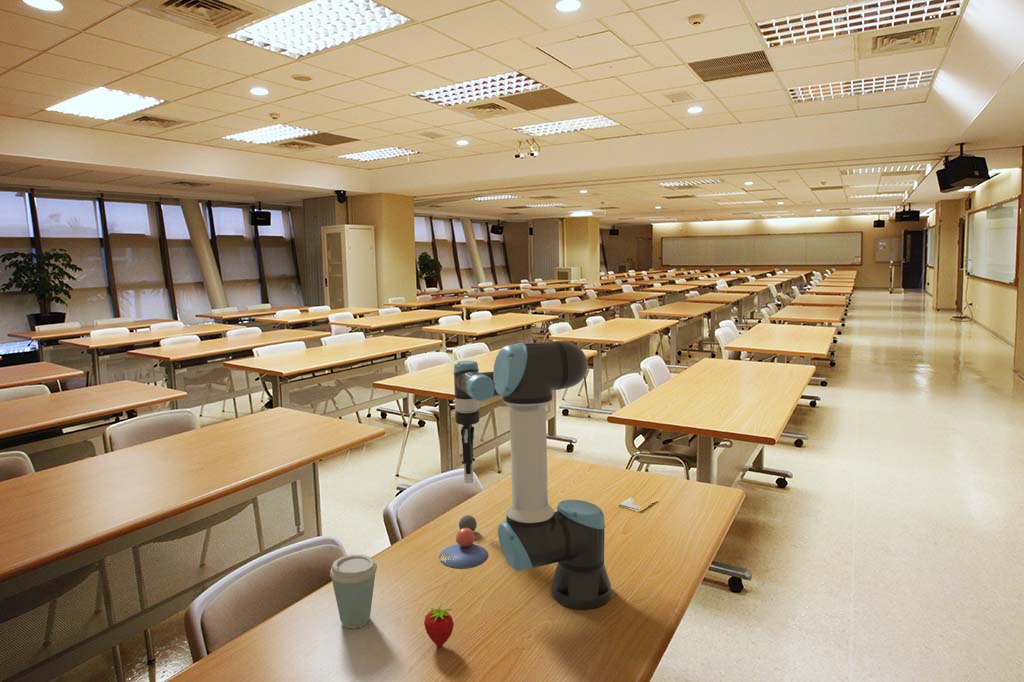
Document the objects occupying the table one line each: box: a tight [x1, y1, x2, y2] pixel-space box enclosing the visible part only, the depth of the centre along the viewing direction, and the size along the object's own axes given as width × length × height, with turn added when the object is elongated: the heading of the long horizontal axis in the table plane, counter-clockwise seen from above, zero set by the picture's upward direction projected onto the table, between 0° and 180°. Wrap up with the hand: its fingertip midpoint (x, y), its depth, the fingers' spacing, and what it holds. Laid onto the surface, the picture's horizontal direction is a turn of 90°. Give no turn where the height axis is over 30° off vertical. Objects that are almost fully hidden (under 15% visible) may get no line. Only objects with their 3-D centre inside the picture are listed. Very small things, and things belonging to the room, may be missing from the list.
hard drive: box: [618, 497, 641, 510], centre depth 201 cm, size 2×8×12 cm
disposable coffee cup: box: [329, 554, 378, 629], centre depth 136 cm, size 11×11×15 cm
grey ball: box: [458, 515, 477, 532], centre depth 181 cm, size 6×6×6 cm
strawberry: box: [423, 602, 455, 648], centre depth 127 cm, size 6×8×10 cm
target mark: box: [438, 543, 489, 569], centre depth 167 cm, size 14×14×1 cm
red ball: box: [455, 528, 476, 547], centre depth 172 cm, size 6×6×6 cm
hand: (469, 482), depth 185 cm, fingers closed
